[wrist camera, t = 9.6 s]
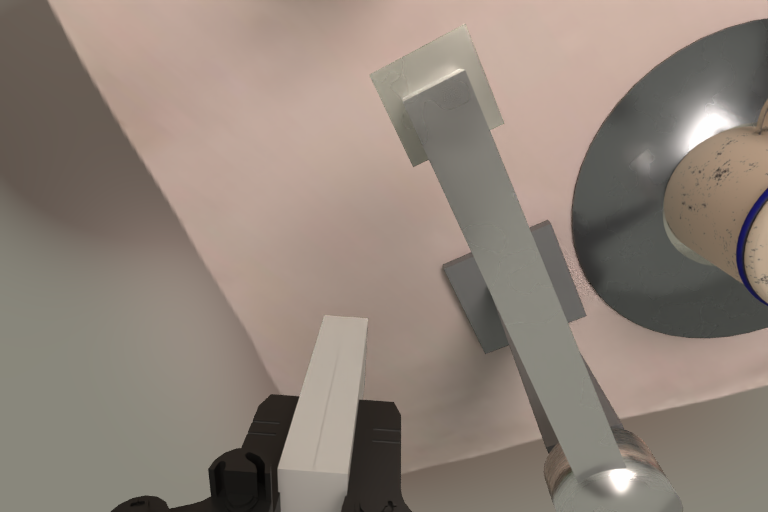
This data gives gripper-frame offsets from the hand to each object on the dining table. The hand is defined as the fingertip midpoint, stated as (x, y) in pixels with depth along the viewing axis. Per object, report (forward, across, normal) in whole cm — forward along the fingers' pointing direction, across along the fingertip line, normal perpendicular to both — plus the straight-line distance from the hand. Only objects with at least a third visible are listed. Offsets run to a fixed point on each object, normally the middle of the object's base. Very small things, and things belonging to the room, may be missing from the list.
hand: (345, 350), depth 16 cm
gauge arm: (+4, +7, +1) cm, 8 cm away
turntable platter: (+18, +25, +2) cm, 31 cm away
